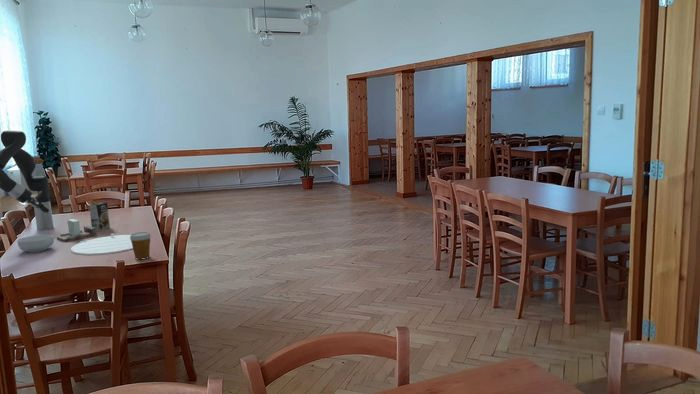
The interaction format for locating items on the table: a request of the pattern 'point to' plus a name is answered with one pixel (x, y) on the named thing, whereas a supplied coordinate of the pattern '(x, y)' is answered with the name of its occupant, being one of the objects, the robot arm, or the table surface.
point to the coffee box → (99, 216)
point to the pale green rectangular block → (73, 227)
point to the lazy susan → (103, 245)
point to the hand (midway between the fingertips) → (47, 211)
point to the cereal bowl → (36, 243)
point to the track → (87, 233)
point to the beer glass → (141, 244)
